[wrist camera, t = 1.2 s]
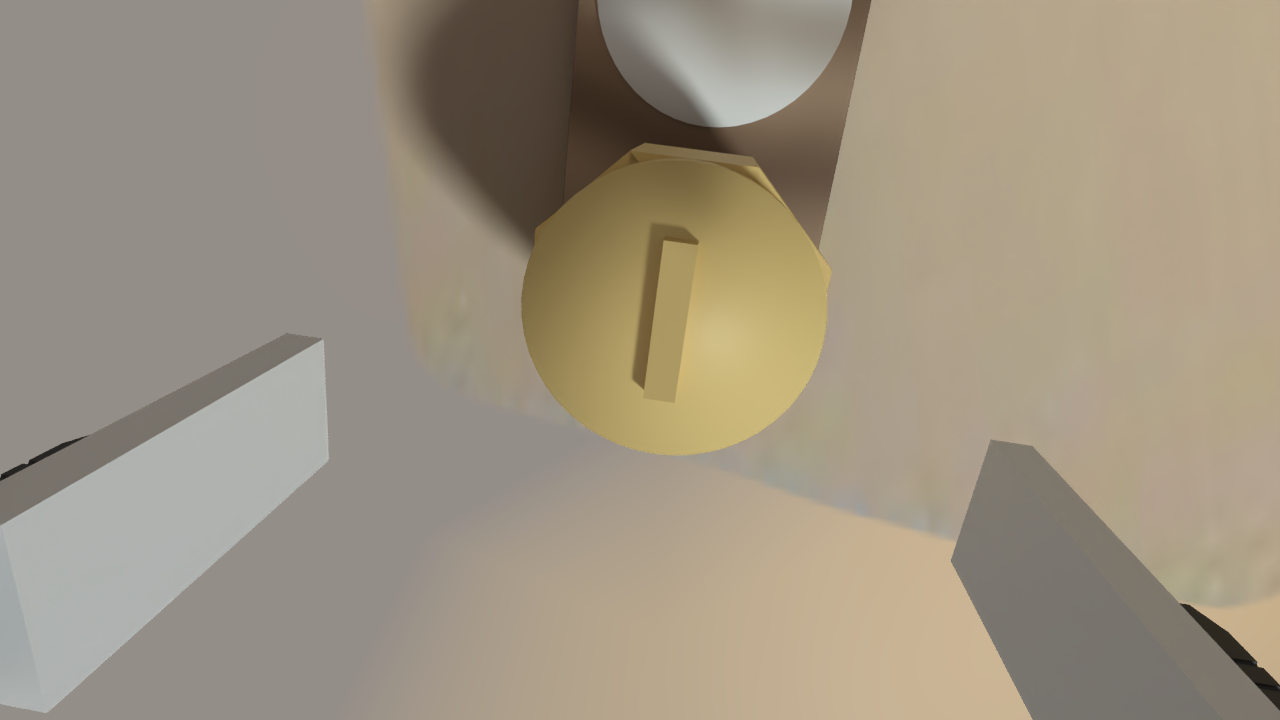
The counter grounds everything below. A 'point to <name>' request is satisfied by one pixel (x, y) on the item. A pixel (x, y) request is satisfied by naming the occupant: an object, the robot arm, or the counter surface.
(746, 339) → the cap
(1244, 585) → the counter surface
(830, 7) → the post board
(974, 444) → the counter surface
